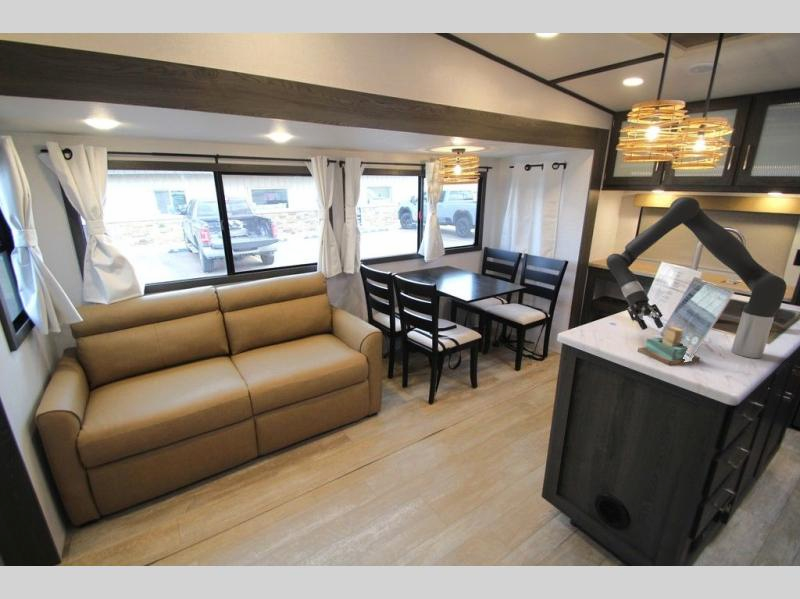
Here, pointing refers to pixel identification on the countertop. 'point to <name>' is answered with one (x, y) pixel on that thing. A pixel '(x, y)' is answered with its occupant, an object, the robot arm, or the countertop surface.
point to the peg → (672, 336)
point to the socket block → (665, 352)
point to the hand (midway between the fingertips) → (653, 328)
